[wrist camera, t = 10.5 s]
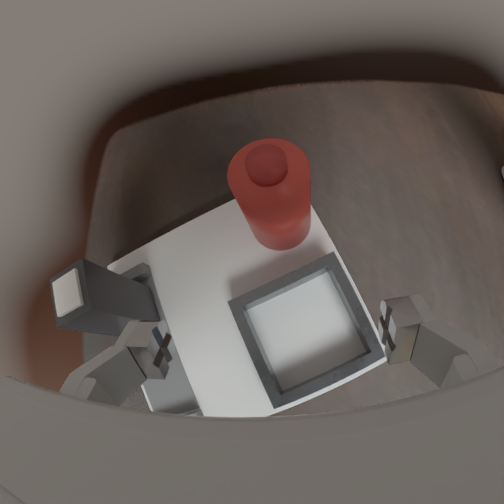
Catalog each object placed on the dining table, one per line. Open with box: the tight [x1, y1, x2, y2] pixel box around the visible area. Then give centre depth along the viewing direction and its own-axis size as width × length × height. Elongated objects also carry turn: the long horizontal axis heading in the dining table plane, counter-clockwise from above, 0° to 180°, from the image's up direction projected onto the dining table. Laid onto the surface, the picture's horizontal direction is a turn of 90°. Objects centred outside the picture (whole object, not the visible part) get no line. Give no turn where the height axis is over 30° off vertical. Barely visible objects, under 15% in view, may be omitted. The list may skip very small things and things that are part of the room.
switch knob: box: [50, 258, 160, 336], centre depth 20 cm, size 4×4×9 cm
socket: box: [227, 251, 385, 409], centre depth 20 cm, size 9×9×2 cm
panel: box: [107, 199, 387, 417], centre depth 23 cm, size 20×18×2 cm
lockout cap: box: [227, 138, 311, 251], centre depth 20 cm, size 5×5×9 cm
